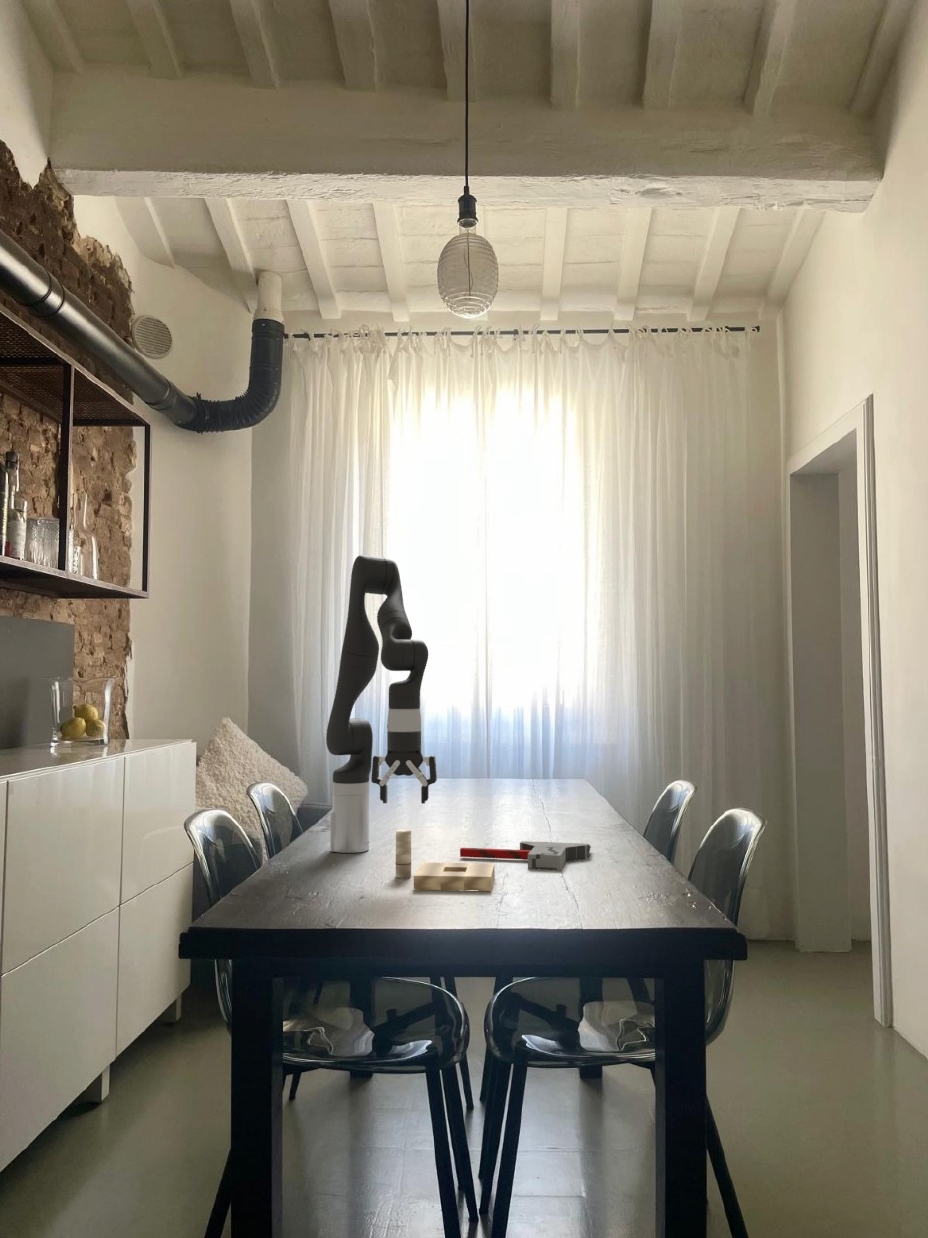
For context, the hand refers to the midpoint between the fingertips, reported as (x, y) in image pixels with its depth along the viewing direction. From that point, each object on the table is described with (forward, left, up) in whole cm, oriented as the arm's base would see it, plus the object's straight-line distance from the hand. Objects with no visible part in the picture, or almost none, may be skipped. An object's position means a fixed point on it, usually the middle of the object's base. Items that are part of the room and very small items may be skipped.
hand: (404, 803), depth 212 cm
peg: (0, 0, -16) cm, 16 cm away
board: (+12, -6, -16) cm, 21 cm away
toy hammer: (+26, +23, -17) cm, 38 cm away
